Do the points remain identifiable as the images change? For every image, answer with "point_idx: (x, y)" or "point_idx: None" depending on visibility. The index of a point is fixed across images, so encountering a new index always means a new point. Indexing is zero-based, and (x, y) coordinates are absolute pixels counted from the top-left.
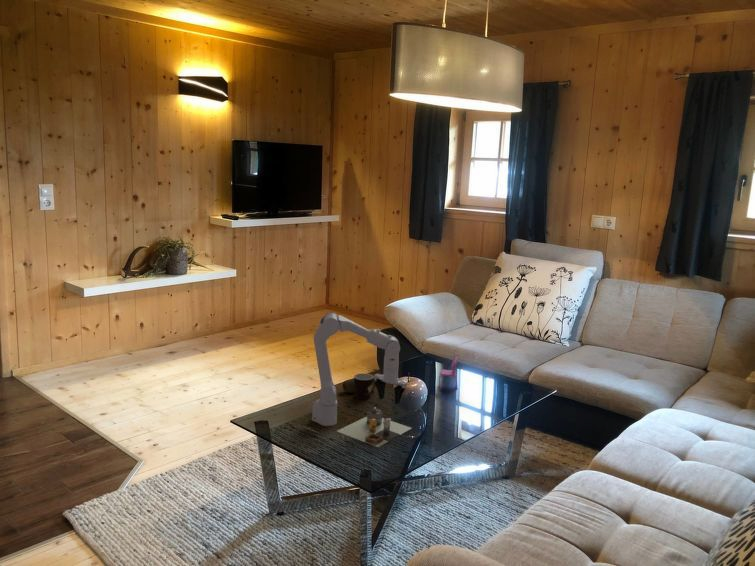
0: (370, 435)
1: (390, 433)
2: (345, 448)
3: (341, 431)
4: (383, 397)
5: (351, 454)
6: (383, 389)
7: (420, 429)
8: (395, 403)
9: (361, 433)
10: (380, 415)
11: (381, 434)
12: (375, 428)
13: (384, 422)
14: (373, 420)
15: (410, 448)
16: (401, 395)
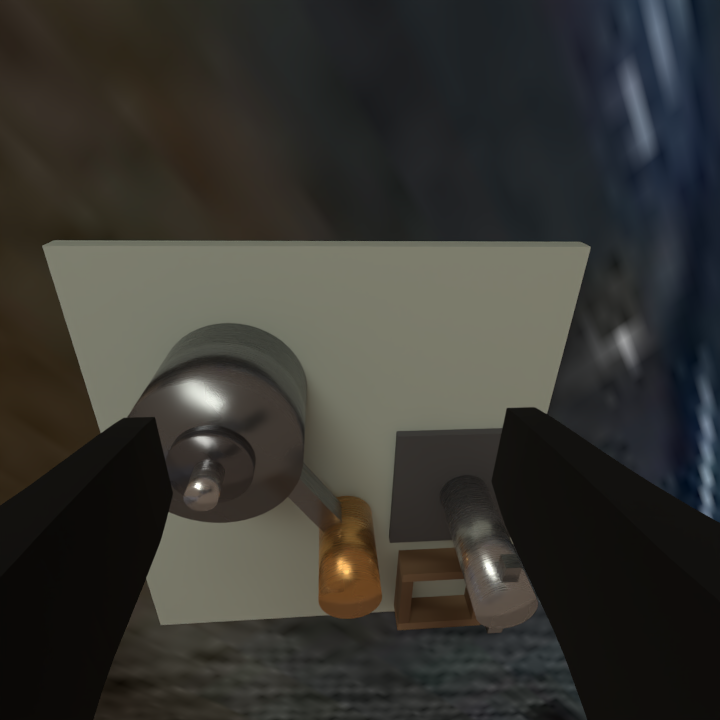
0: (406, 600)
1: (480, 466)
2: (346, 667)
3: (187, 611)
4: (153, 431)
5: (409, 679)
6: (51, 589)
7: (654, 167)
8: (502, 489)
9: (303, 561)
10: (303, 448)
11: (433, 513)
12: (373, 532)
13: (500, 629)
14: (365, 606)
15: (665, 486)
16: (670, 511)
